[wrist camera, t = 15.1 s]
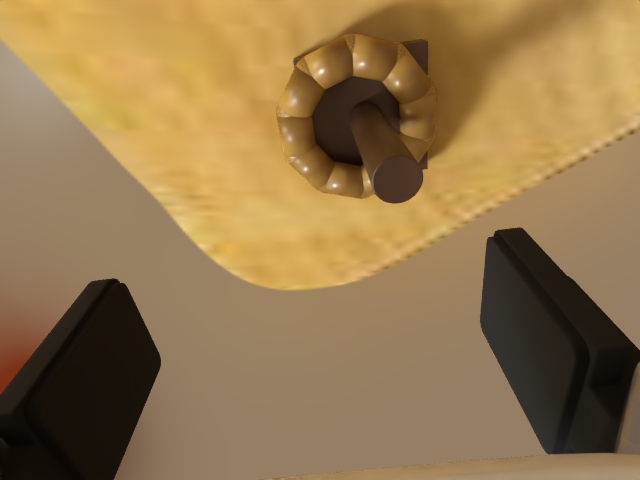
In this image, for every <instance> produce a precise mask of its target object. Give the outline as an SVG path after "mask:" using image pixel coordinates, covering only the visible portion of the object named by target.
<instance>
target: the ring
mask: <svg viewBox="0 0 640 480" xmlns="http://www.w3.org/2000/svg"><path fill="white" fill-rule="evenodd" d="M351 76H357V77H362V78H367V79H372V80H377V81H382V83H383V84H384V85H385V86H386V87H387V89H388V90H389V91H390V92H391V93H392V95H393V96H394V97H395V98H396V100H397V101H398V102H399V114H400V131H399V133H398V135H399V136H400V138H401V139H402V141H403V142H404V143H405V145H406V146H407V148H408V149H409V150H410V152H411V153H412V155H413V156H414V157H415V159H416V160H417V162H418V163H419V162H420V160H421V159H422V157H423V156H424V154H425V153H426V152H427V150H428V149H429V147H430V146H431V144H432V143H433V141H434V138H435V96H436V93H435V87H434V85H433V83H432V81H431V80H430V79H429V77H428V76H427V75H426V73H425V72H424V71H423V70H422V68H421V67H420V66H419V64H418V63H417V62H416V60H415V59H414V58H413V56H412V55H411V54H410V52H409V51H408V50H407V49H406V48H405V47H404V46H403V45H402V44H400V43H396V42H391V41H386V40H382V39H377V38H372V37H367V36H362V35H357V34H346V35H344V36H342V37H340V38H338V39H336V40H334V41H332V42H331V43H329V44H327V45H325V46H323V47H321V48H319V49H317V50H315V51H314V52H312V53H310V54H308V55H306V56H304V57H303V58H301V59H300V60H299V61H298V63H297V64H296V67H295V69H294V71H293V73H292V75H291V77H290V79H289V81H288V84H287V86H286V88H285V90H284V92H283V94H282V96H281V98H280V101H279V103H278V105H277V109H276V115H277V120H278V126H279V131H280V137H281V142H282V147H283V153H284V157H285V159H286V161H287V162H288V163H289V164H290V165H291V166H292V167H293V168H294V169H295V170H296V171H297V172H298V173H299V174H300V175H302V176H303V177H304V178H305V179H306V180H307V181H308V182H309V183H310V184H311V185H312V186H313V187H314V188H315V189H316V190H318V191H320V192H323V193H328V194H334V195H341V196H347V197H353V198H360V199H363V198H367V197H370V196H372V195H374V194H375V193H374V191H373V188H372V185H371V183H370V180H369V177H368V174H367V172H366V169H365V166H364V164H363V165H360V166H359V165H353V164H347V163H341V162H335V161H333V160H332V159H331V158H330V157H329V156H328V155H327V154H326V153H325V152H324V151H323V150H322V149H321V148H320V147H319V145H318V144H317V143H316V140H315V133H314V125H313V118H312V115H313V113H314V111H315V109H316V107H317V105H318V104H319V102H320V100H321V98H322V96H323V94H324V92H325V90H326V89H328V88H330V87H332V86H334V85H336V84H338V83H340V82H342V81H344V80H345V79H347V78H349V77H351Z"/></svg>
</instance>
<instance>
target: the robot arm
mask: <svg viewBox="0 0 640 480" xmlns="http://www.w3.org/2000/svg"><path fill="white" fill-rule="evenodd" d="M480 323H481V328H482V331H483V333H484V335H485V337H486V339H487V341H488V343H489V345H490V347H491V349H492V350H493V353H494V355H495V356H496V358H497V360H498V362H499V364H500V366H501V368H502V370H503V372H504V374H505V376H506V378H507V380H508V382H509V384H510V386H511V388H512V389H513V391H514V393H515V395H516V397H517V399H518V401H519V403H520V405H521V407H522V409H523V411H524V413H525V415H526V417H527V418H528V420H529V422H530V424H531V426H532V428H533V430H534V432H535V434H536V436H537V438H538V440H539V442H540V444H541V445H542V447H543V449H544V450H545V452H546V453H548V454H553V455H539V456H525V457H513V458H512V457H511V458H497V459H484V460H471V461H460V462H448V463H437V464H426V465H415V466H404V467H392V468H381V469H370V470H359V471H348V472H336V473H327V474H315V475H305V476H294V477H283V478H272V479H262V480H640V350H639V349H638V348H637V347H636V346H635V345H634V344H633V343H632V342H631V341H630V340H629V339H628V337H627V336H626V335H625V334H624V333H623V332H622V331H621V330H620V329H619V328H618V327H617V326H616V325H615V324H614V323H613V322H612V321H611V319H610V318H609V317H608V316H607V315H606V314H605V313H604V312H603V311H602V310H601V309H600V308H599V307H598V306H597V305H596V303H595V302H594V301H593V300H592V299H591V298H590V297H589V296H588V295H587V294H586V293H585V292H584V291H583V290H582V289H581V288H580V286H579V285H578V284H577V283H576V282H575V281H574V280H573V279H571V278H570V277H569V276H567V275H566V274H565V273H564V272H563V271H562V270H561V269H560V268H559V267H558V266H557V265H556V264H555V263H554V262H553V261H552V259H551V258H550V257H549V256H548V255H547V254H546V253H545V252H544V251H543V250H542V249H541V248H540V247H539V245H538V244H537V243H536V242H535V241H534V240H533V239H532V238H531V237H530V236H529V235H528V234H527V232H526V231H524V229H522V228H511V229H503V230H497V231H495V234H494V237H489V238H488V239H487V244H486V256H485V269H484V279H483V291H482V303H481V315H480ZM160 366H161V358H160V354H159V352H158V350H157V348H156V346H155V344H154V342H153V340H152V338H151V335H150V333H149V331H148V329H147V327H146V325H145V323H144V321H143V319H142V317H141V315H140V313H139V311H138V308H137V306H136V304H135V302H134V300H133V298H132V296H131V294H130V292H129V290H128V288H127V286H126V285H125V284H124V283H120V282H119V281H118V280H117V279H114V278H113V279H105V280H97V281H92V282H90V283H89V284H88V285H87V287H86V288H85V289H84V290H83V292H82V293H81V294H80V295H79V297H78V298H77V299H76V300H75V302H74V303H73V304H72V305H71V307H70V308H69V309H68V310H67V312H66V313H65V314H64V315H63V317H62V318H61V319H60V320H59V322H58V323H57V324H56V325H55V327H54V328H53V329H52V330H51V332H50V333H49V334H48V336H47V337H46V338H45V339H44V341H43V342H42V343H41V344H40V346H39V347H38V348H37V349H36V351H35V352H34V353H33V354H32V356H31V357H30V358H29V359H28V361H27V362H26V363H25V364H24V366H23V367H22V368H21V370H20V371H19V372H18V373H17V375H16V376H15V377H14V378H13V379H12V381H11V382H10V383H9V385H8V386H7V387H6V388H5V389H4V391H3V392H2V393H1V395H0V480H113V479H114V478H115V475H116V473H117V470H118V468H119V466H120V463H121V460H122V458H123V456H124V454H125V451H126V449H127V446H128V444H129V442H130V439H131V436H132V434H133V432H134V430H135V427H136V425H137V422H138V420H139V418H140V415H141V413H142V410H143V408H144V406H145V403H146V401H147V398H148V396H149V394H150V391H151V389H152V386H153V384H154V382H155V379H156V377H157V374H158V372H159V370H160Z"/></svg>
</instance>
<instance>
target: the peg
mask: <svg viewBox="0 0 640 480" xmlns="http://www.w3.org/2000/svg"><path fill="white" fill-rule="evenodd" d="M399 43H400V44H402V45H403V46H404V47H405V48H406V49H407V50H408V51H409V52H410V54H411V55H412V56H413V58H414V59H415V60H416V62H417V63H418V64H419V66H420V67H421V68H422V70H423V71H424V72H425V73H426V75H427V76H428V41H427V40H423V39H419V40H412V41H405V42H399ZM301 58H303V57H298V58H294V61H293V62H294V68H295V67H296V64H297V63H298V61H299V60H300V59H301ZM312 118H313V125H314V133H315V140H316V143H317V144H318V145H319V147H320V148H321V149H322V150H323V151H324V152H325V153H326V154H327V155H328V156H329V157H330V158H331V159H332V160H333V161H335V162H341V163H347V164H353V165H359V166H360V165H363V164H364V166H365V169H366V172H367V174H368V177H369V180H370V183H371V185H372V188H373V191H374V193H375V194H376V195H377V196H378V197H379V198H380V199H381V200H383V201H385V202H388V203H402V202H405V201H407V200H409V199H411V198H412V197H413V196H415V195H416V193H417V192H418V191H419V189H420V187H421V185H422V182H423V171H422V170H423V169H427V158H428V150H427V152H426V153H425V154H424V156H423V157H422V159H421V160H420V162H419V163H418V162H417V160H416V159H415V157H414V156H413V155H412V153H411V152H410V150H409V149H408V148H407V146H406V145H405V143H404V142H403V141H402V139H401V138H400V136H399V135H398V133H399V131H400V114H399V102H398V101H397V100H396V98H395V97H394V96H393V95H392V93H391V92H390V91H389V90H388V89H387V87H386V86H385V85H384V84H383V83H382V81H377V80H372V79H367V78H362V77H357V76H351V77H349V78H347V79H345V80H344V81H342V82H340V83H338V84H336V85H334V86H332V87H330V88H328V89H326V90H325V92H324V94H323V96H322V98H321V100H320V102H319V104H318V105H317V107H316V109H315V111H314V113H313V115H312Z"/></svg>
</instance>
